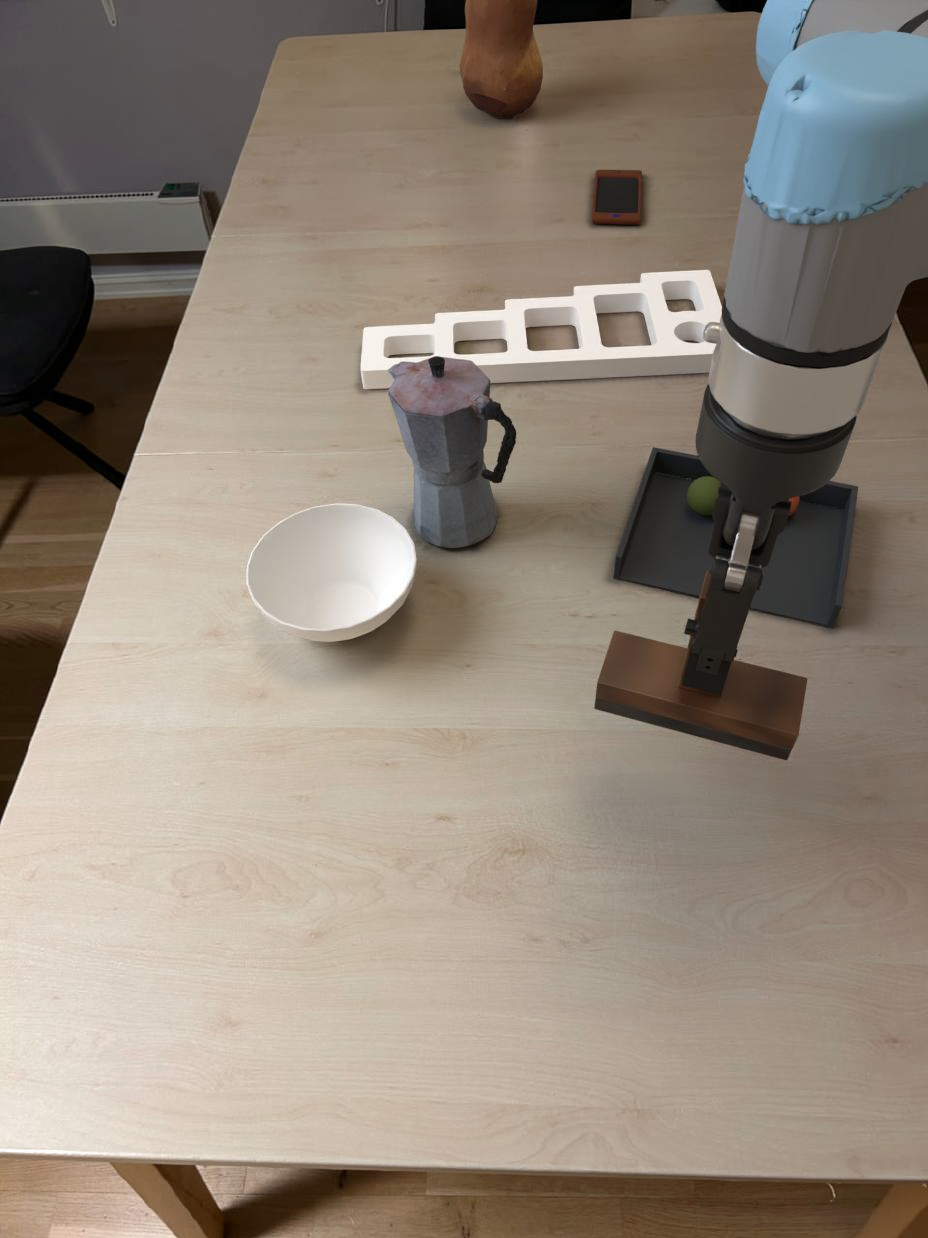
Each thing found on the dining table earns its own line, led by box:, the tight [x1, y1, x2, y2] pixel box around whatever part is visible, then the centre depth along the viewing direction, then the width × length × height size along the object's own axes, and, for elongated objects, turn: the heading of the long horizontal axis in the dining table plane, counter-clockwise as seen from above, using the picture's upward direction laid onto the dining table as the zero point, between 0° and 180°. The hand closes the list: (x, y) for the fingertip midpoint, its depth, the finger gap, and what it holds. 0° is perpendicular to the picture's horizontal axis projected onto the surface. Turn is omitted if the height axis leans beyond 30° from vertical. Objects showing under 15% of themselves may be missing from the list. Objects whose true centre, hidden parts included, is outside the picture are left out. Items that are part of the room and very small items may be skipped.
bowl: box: [245, 502, 418, 643], centre depth 90 cm, size 16×16×7 cm
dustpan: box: [613, 446, 859, 629], centre depth 97 cm, size 27×21×3 cm
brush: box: [593, 570, 809, 761], centre depth 64 cm, size 14×5×14 cm, turn 70°
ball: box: [687, 476, 721, 515], centre depth 97 cm, size 4×4×4 cm
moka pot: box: [387, 356, 517, 549], centre depth 91 cm, size 10×15×20 cm, turn 55°
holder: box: [359, 269, 723, 390], centre depth 118 cm, size 45×18×3 cm, turn 91°
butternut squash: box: [459, 0, 544, 120], centre depth 150 cm, size 14×13×25 cm
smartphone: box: [591, 169, 643, 226], centre depth 139 cm, size 7×1×15 cm
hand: (706, 668), depth 65 cm, fingers closed on brush, 2 cm apart
